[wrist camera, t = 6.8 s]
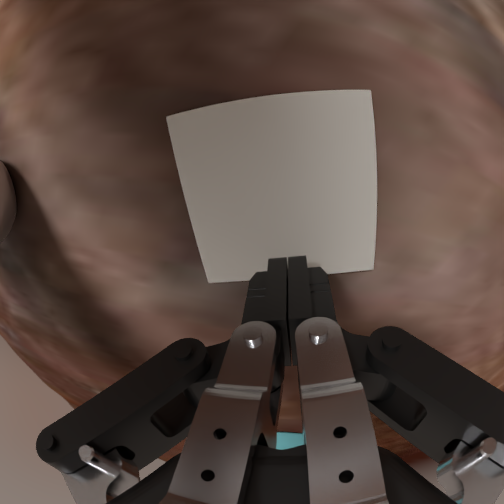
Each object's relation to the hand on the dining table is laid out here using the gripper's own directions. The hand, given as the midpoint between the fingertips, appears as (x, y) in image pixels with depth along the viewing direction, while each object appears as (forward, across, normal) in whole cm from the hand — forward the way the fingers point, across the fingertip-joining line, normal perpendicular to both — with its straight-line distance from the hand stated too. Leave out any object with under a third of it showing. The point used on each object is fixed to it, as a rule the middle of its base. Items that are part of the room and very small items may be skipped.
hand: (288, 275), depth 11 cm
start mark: (+2, 0, -3) cm, 3 cm away
